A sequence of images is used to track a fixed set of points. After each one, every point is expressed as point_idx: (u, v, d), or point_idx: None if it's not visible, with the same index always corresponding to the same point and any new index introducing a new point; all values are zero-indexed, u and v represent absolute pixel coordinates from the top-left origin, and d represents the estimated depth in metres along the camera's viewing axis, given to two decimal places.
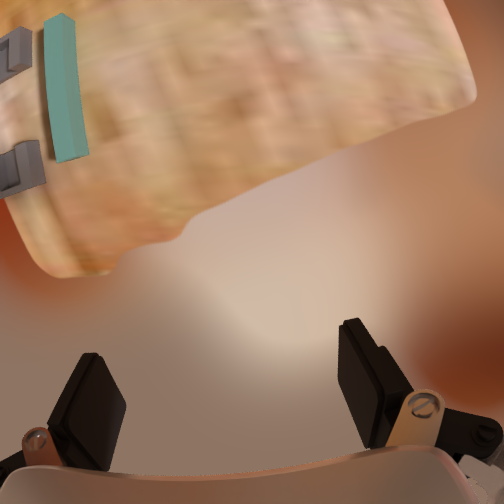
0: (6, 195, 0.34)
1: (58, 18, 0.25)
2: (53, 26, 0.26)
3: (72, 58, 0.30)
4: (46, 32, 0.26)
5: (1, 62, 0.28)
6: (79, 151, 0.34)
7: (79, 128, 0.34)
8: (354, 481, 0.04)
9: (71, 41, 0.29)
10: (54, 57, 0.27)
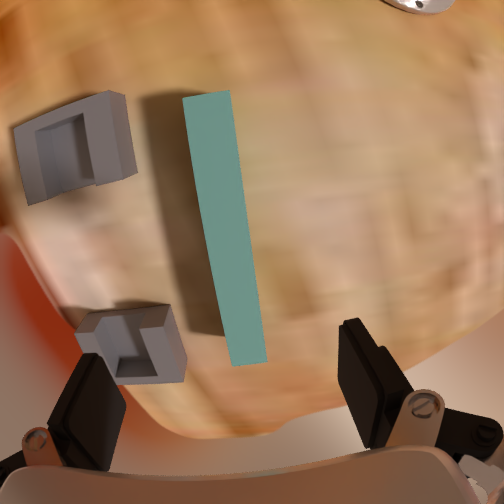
0: (128, 383, 0.27)
1: (222, 101, 0.18)
2: (211, 118, 0.18)
3: None
4: (193, 128, 0.18)
5: (64, 152, 0.21)
6: None
7: None
8: (354, 481, 0.04)
9: None
10: (223, 195, 0.20)
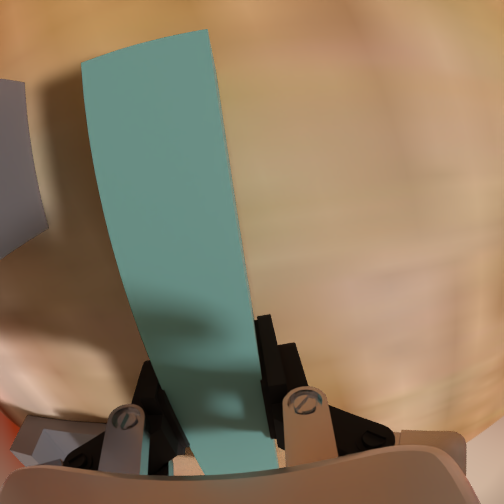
0: None
1: (184, 61, 0.06)
2: (153, 109, 0.06)
3: None
4: (107, 140, 0.06)
5: None
6: None
7: None
8: (354, 481, 0.04)
9: (232, 187, 0.09)
10: (197, 318, 0.08)
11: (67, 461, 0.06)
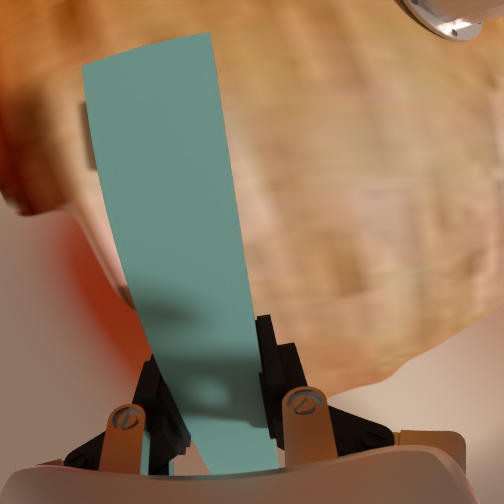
0: None
1: (187, 65, 0.06)
2: (156, 113, 0.06)
3: (246, 268, 0.11)
4: (110, 144, 0.06)
5: None
6: None
7: (275, 445, 0.14)
8: (354, 481, 0.04)
9: (233, 186, 0.10)
10: (200, 317, 0.08)
11: (67, 461, 0.06)
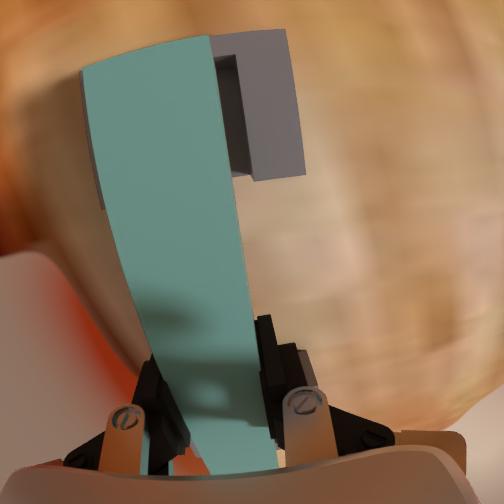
0: None
1: (185, 67, 0.06)
2: (155, 115, 0.06)
3: (245, 268, 0.11)
4: (110, 146, 0.06)
5: None
6: None
7: (274, 444, 0.14)
8: (354, 482, 0.04)
9: (232, 186, 0.10)
10: (199, 316, 0.08)
11: (67, 461, 0.06)
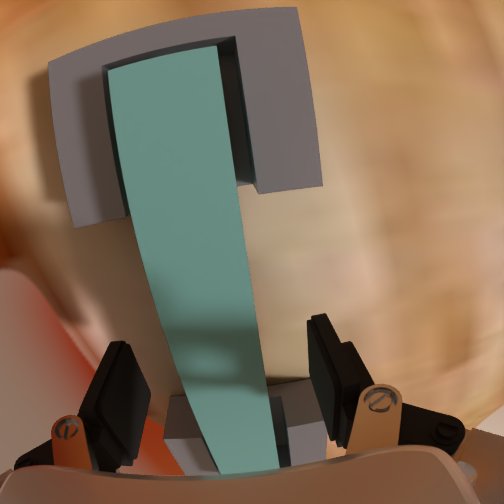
0: None
1: (197, 72, 0.07)
2: (171, 112, 0.07)
3: None
4: (132, 138, 0.07)
5: None
6: None
7: None
8: (353, 481, 0.04)
9: None
10: (205, 289, 0.09)
11: (17, 464, 0.06)
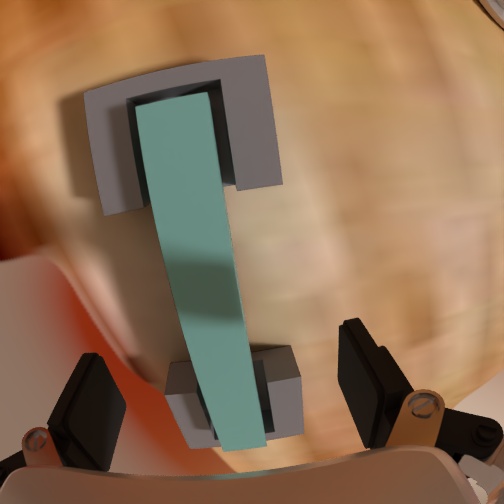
0: None
1: (195, 110, 0.11)
2: (178, 137, 0.12)
3: None
4: (152, 153, 0.12)
5: None
6: (263, 427, 0.19)
7: (256, 387, 0.19)
8: (353, 481, 0.04)
9: (221, 180, 0.15)
10: (200, 254, 0.13)
11: None
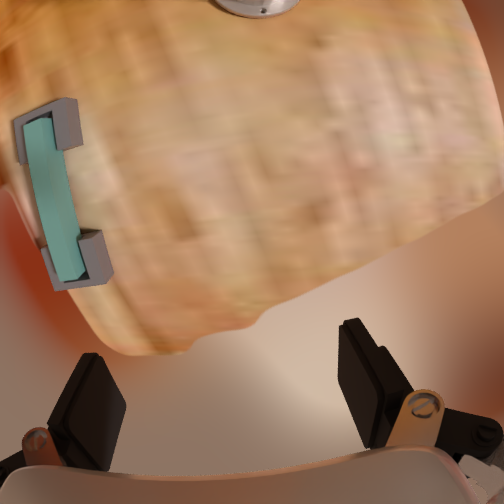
0: (71, 287, 0.38)
1: (37, 124, 0.28)
2: (33, 134, 0.29)
3: (59, 168, 0.33)
4: (27, 140, 0.29)
5: None
6: (79, 270, 0.37)
7: (76, 245, 0.37)
8: (354, 482, 0.04)
9: (55, 148, 0.32)
10: (40, 173, 0.31)
11: None
